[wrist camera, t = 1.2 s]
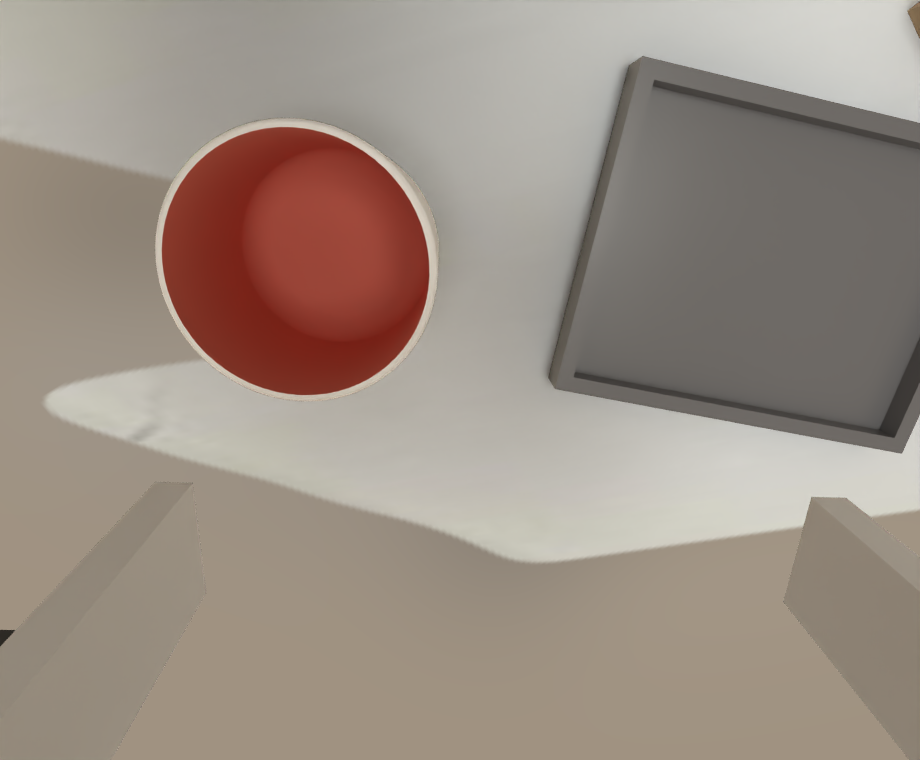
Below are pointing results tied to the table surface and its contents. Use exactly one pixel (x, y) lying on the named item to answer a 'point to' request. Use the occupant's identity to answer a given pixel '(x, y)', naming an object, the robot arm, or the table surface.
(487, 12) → the table surface
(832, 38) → the table surface
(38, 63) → the table surface
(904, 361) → the tray
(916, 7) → the maple block
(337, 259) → the cup
